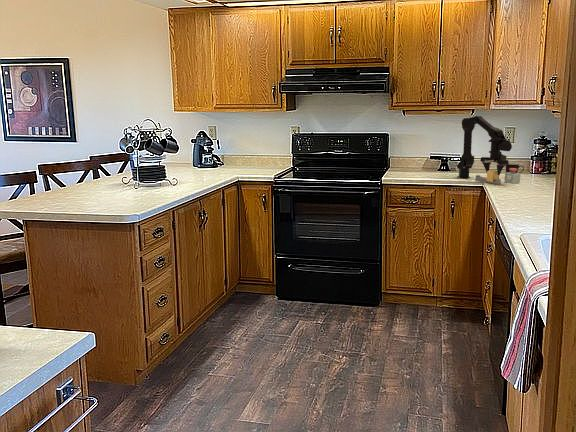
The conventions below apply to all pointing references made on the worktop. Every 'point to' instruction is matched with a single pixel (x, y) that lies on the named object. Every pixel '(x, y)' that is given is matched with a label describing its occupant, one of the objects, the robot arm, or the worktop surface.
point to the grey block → (512, 178)
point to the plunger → (513, 170)
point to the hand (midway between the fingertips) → (493, 174)
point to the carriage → (492, 175)
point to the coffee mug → (513, 165)
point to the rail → (484, 179)
